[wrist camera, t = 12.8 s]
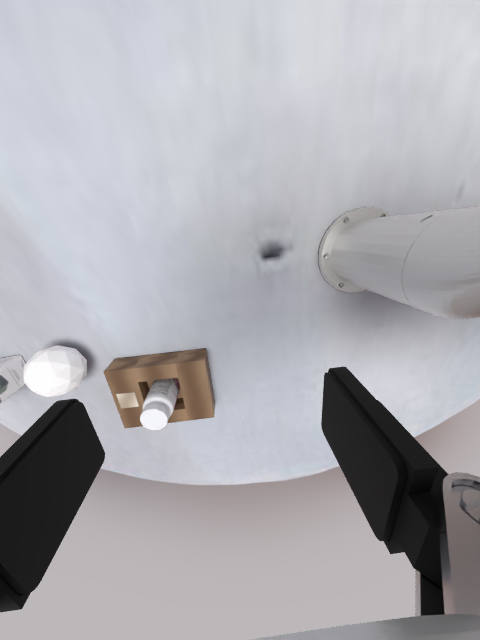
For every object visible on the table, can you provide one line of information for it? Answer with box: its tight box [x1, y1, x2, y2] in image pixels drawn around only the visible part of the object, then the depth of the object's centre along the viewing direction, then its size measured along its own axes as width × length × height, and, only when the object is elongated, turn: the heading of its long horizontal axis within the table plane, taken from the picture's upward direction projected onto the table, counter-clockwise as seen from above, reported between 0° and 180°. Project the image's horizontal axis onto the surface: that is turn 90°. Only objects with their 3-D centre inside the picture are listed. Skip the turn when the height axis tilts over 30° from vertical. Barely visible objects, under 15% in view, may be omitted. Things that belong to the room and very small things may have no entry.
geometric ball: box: [24, 345, 87, 397], centre depth 35 cm, size 8×8×8 cm
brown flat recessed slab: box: [104, 348, 215, 428], centre depth 39 cm, size 16×12×4 cm
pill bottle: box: [140, 378, 180, 430], centre depth 36 cm, size 5×5×8 cm
